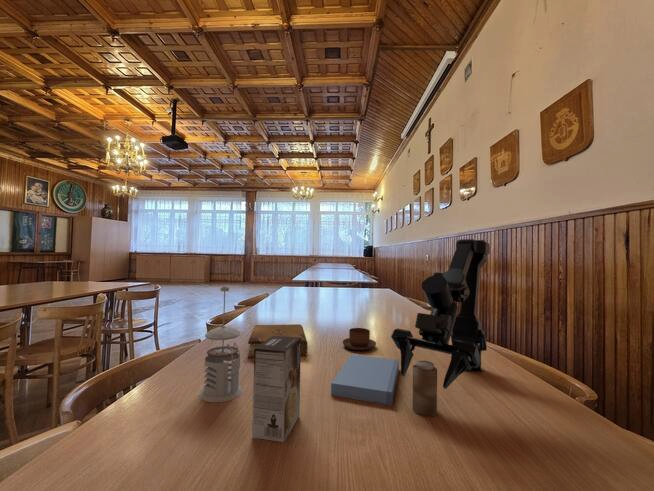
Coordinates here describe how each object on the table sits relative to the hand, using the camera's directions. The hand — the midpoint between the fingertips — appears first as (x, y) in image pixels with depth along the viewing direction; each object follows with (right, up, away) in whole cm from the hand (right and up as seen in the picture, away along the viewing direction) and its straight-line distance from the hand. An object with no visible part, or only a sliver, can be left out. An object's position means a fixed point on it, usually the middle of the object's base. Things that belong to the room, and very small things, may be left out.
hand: (422, 381), depth 64 cm
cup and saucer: (-9, -8, +45) cm, 46 cm away
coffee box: (-30, -6, -6) cm, 31 cm away
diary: (-38, -8, +43) cm, 58 cm away
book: (-9, -7, +16) cm, 19 cm away
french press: (-45, -6, +7) cm, 45 cm away
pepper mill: (+1, -7, +1) cm, 7 cm away
